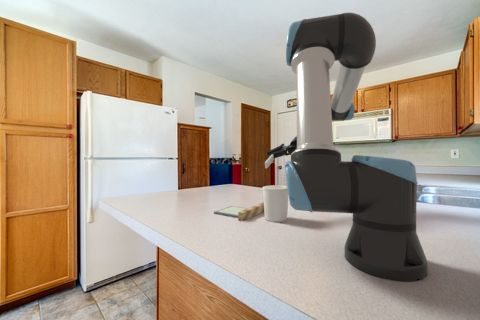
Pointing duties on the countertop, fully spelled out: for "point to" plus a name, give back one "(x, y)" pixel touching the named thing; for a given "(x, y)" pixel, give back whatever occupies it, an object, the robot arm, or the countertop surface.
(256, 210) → the brown wooden bar
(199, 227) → the countertop surface
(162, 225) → the countertop surface
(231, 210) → the square tile
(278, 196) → the candle holder
